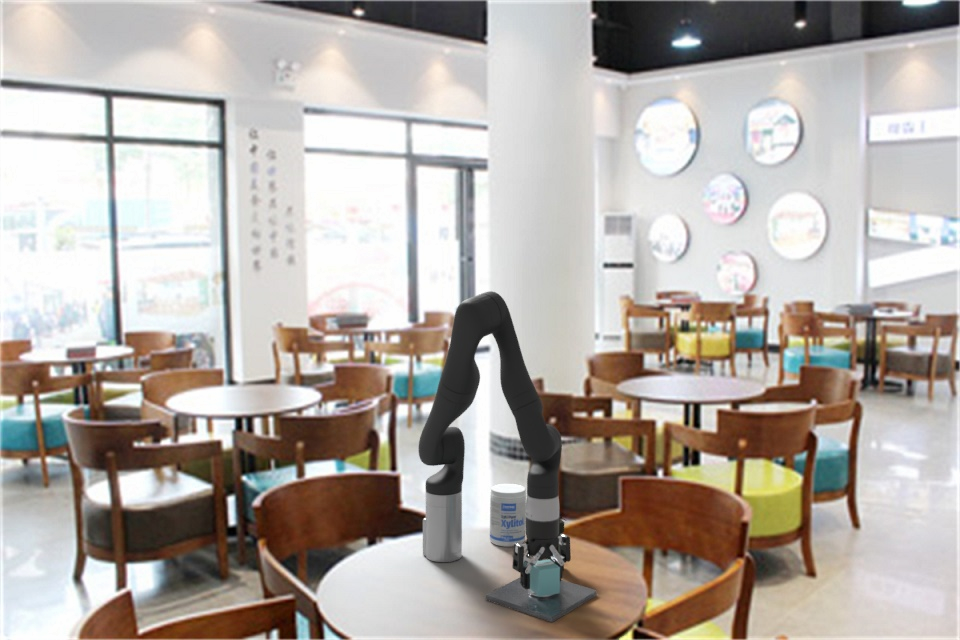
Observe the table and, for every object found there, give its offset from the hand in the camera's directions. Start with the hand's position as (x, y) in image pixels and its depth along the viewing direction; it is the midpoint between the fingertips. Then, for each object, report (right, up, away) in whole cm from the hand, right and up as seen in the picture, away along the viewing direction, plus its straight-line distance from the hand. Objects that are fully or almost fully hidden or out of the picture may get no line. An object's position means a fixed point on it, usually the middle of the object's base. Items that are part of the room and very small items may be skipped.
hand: (541, 584), depth 196 cm
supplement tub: (-7, 0, +36) cm, 37 cm away
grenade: (+4, -2, +16) cm, 17 cm away
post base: (0, -3, 0) cm, 3 cm away
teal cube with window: (+1, -1, 0) cm, 1 cm away
